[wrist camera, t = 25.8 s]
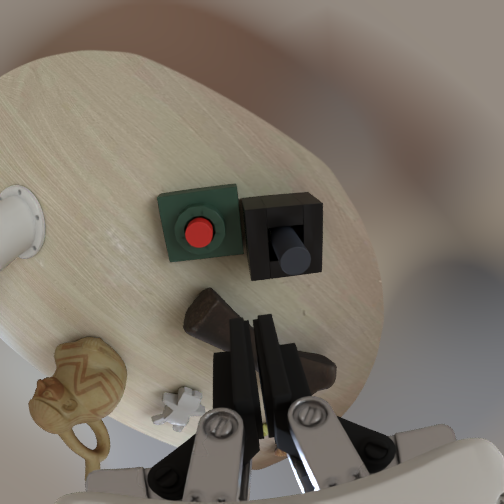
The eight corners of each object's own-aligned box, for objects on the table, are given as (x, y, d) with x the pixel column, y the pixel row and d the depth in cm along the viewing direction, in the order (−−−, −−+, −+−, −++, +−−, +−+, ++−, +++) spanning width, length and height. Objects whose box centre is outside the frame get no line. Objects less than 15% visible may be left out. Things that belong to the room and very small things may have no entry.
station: (172, 255, 38) (167, 268, 34) (160, 193, 34) (153, 200, 31) (242, 247, 39) (244, 260, 35) (236, 183, 35) (237, 189, 31)
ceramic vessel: (104, 314, 41) (49, 437, 19) (154, 386, 50) (137, 494, 27) (44, 327, 42) (-10, 421, 19) (94, 391, 50) (67, 480, 27)
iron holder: (247, 259, 39) (251, 281, 34) (241, 198, 36) (244, 210, 30) (309, 252, 40) (321, 272, 34) (308, 192, 36) (322, 203, 31)
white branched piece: (215, 407, 48) (184, 440, 50) (213, 390, 52) (184, 424, 55) (170, 392, 45) (145, 427, 48) (172, 374, 50) (148, 411, 52)
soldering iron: (266, 238, 38) (280, 277, 28) (264, 216, 37) (279, 248, 27) (288, 235, 39) (310, 273, 29) (288, 213, 37) (311, 245, 27)
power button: (189, 243, 34) (187, 249, 32) (185, 219, 32) (183, 223, 31) (214, 240, 34) (214, 246, 32) (211, 215, 33) (210, 220, 31)
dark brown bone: (320, 355, 52) (209, 272, 46) (352, 371, 42) (222, 275, 36) (289, 398, 49) (170, 324, 43) (315, 422, 40) (173, 341, 33)
